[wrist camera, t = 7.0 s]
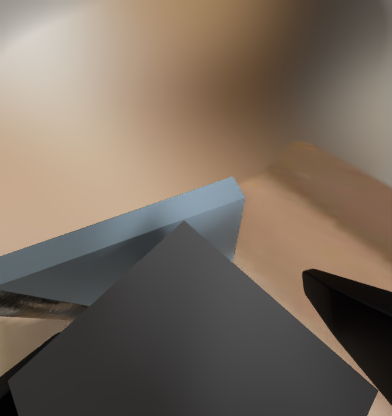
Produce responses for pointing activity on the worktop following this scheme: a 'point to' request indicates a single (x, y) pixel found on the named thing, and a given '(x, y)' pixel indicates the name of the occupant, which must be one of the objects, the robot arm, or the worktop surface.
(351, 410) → the block
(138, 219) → the door
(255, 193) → the worktop surface
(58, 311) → the door frame
